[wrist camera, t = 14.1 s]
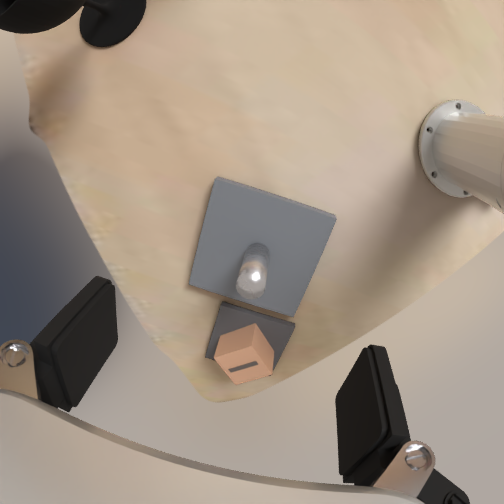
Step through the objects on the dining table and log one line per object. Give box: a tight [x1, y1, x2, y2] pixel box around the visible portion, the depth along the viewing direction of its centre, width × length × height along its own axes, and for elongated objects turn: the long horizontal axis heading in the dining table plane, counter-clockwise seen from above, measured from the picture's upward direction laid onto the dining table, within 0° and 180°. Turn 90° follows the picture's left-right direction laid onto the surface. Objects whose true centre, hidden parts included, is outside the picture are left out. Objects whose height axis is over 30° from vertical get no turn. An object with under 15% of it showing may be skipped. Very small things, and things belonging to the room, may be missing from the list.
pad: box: [205, 301, 295, 376], centre depth 47 cm, size 11×11×1 cm
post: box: [236, 243, 270, 299], centre depth 36 cm, size 3×3×8 cm
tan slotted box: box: [214, 323, 274, 385], centre depth 45 cm, size 6×6×5 cm
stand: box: [189, 177, 336, 317], centre depth 41 cm, size 15×15×2 cm
